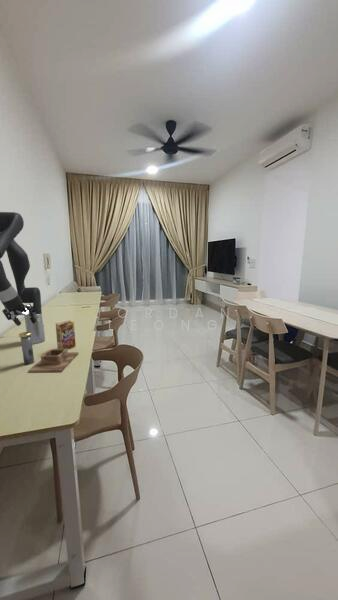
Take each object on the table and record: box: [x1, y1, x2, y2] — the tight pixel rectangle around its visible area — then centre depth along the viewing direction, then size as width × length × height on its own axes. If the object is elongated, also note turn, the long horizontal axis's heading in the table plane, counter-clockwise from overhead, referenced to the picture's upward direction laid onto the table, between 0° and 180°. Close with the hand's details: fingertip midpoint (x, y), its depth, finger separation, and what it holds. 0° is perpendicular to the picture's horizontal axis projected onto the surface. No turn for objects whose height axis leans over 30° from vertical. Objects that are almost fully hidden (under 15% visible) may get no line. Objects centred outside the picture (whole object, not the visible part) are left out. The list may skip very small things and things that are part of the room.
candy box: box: [55, 319, 77, 350], centre depth 134 cm, size 9×4×15 cm, turn 144°
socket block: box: [28, 348, 80, 373], centre depth 117 cm, size 20×15×5 cm
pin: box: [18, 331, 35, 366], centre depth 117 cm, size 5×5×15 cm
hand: (27, 323), depth 120 cm, fingers open, 8 cm apart
